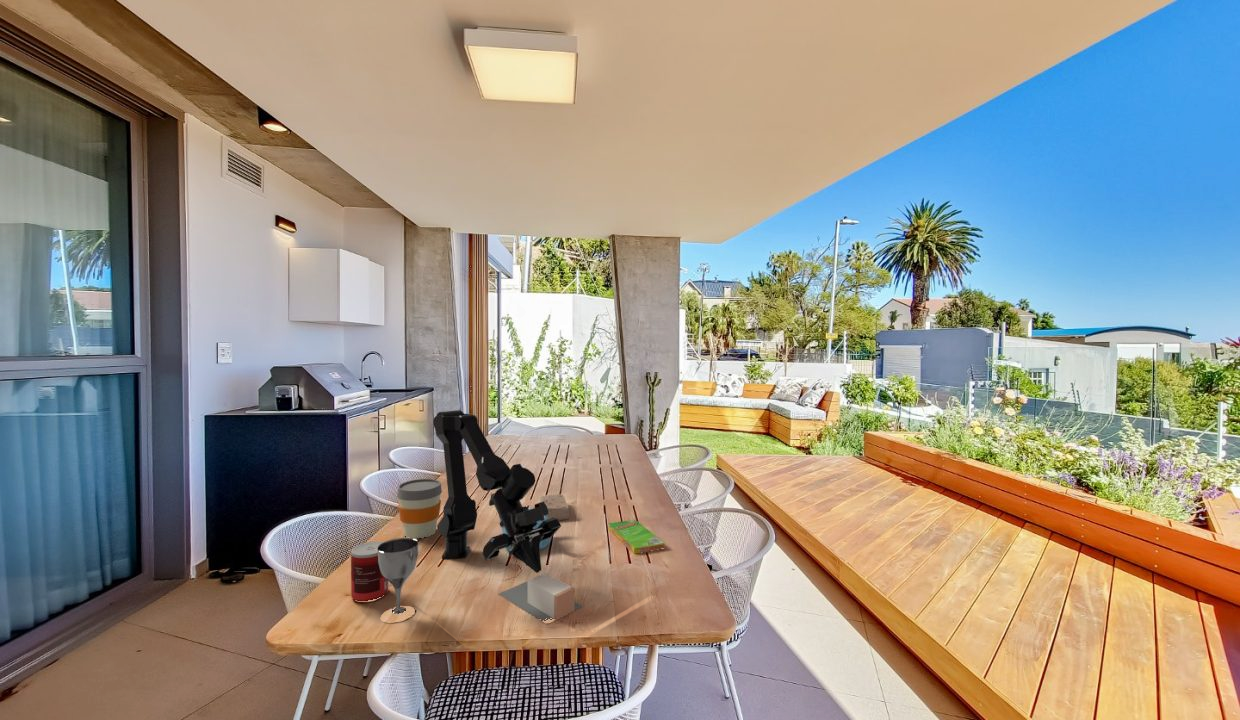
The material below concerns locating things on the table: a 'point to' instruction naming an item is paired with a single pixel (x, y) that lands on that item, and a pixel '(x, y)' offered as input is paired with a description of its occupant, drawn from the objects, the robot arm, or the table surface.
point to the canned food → (366, 573)
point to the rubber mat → (526, 601)
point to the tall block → (551, 596)
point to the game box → (635, 536)
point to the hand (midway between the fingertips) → (539, 571)
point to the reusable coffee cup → (419, 506)
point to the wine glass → (397, 563)
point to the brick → (556, 506)
